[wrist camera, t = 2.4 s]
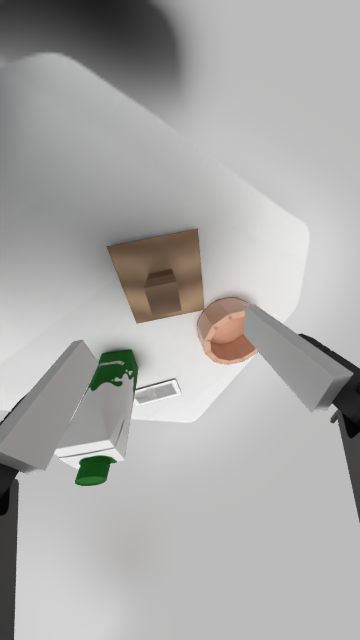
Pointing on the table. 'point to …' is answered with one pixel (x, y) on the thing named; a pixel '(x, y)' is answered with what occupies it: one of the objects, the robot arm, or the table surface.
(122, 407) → the milk carton
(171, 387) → the touchpad
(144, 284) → the cover board
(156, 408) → the table surface
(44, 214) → the table surface
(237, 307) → the bowl
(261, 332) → the robot arm
